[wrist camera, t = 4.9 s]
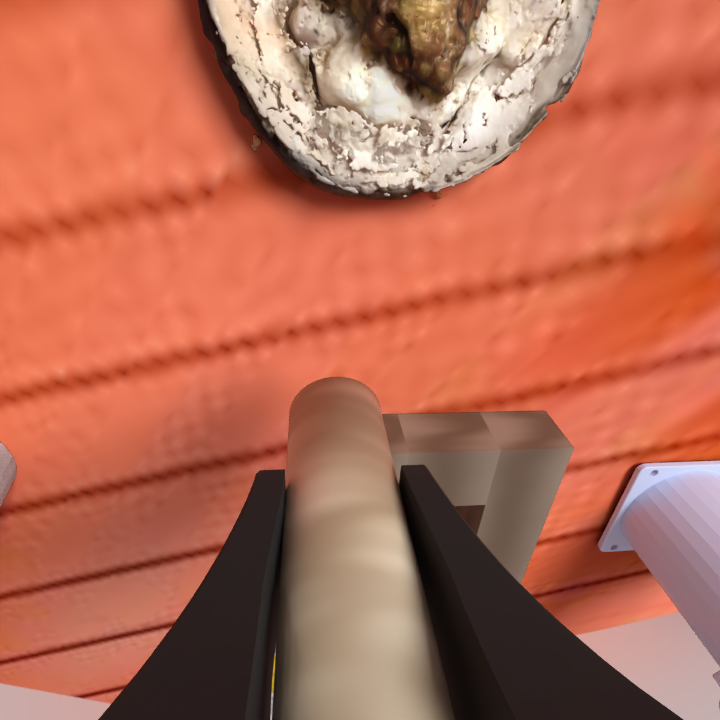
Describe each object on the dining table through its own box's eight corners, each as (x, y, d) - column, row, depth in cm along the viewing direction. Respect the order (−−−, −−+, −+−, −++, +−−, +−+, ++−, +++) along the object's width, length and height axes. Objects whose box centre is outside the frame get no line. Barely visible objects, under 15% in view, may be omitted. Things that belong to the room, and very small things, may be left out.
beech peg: (383, 376, 14) (510, 825, 5) (377, 448, 15) (466, 888, 7) (288, 377, 13) (253, 860, 5) (290, 450, 15) (268, 918, 6)
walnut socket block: (545, 410, 24) (574, 447, 21) (498, 551, 30) (516, 593, 27) (326, 415, 22) (328, 456, 20) (323, 562, 28) (325, 607, 26)
